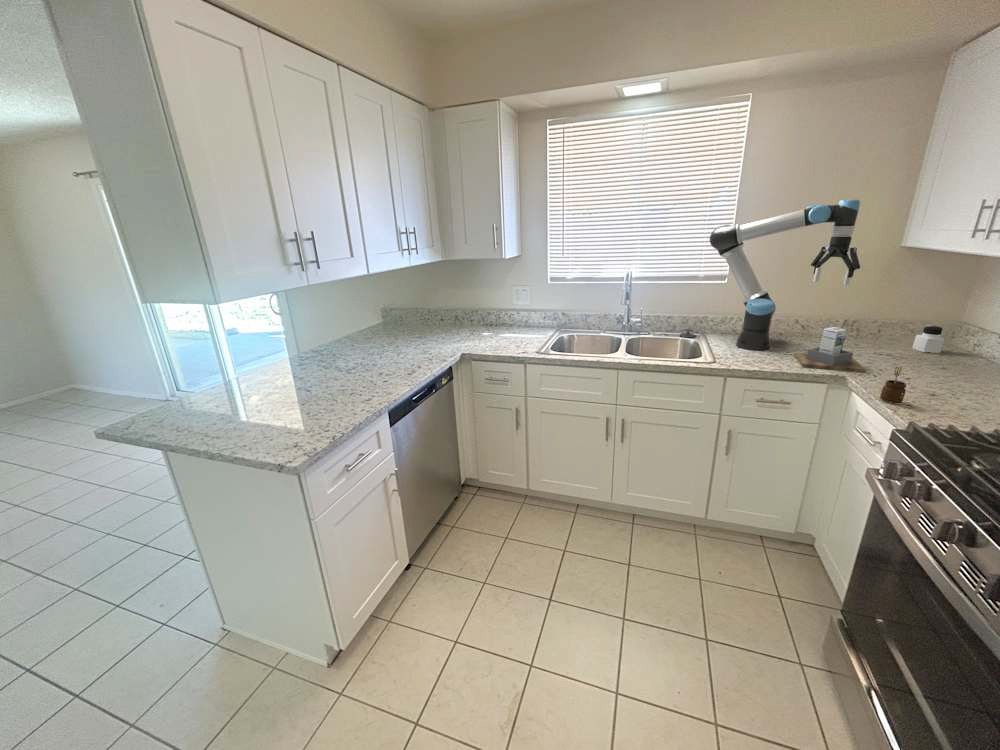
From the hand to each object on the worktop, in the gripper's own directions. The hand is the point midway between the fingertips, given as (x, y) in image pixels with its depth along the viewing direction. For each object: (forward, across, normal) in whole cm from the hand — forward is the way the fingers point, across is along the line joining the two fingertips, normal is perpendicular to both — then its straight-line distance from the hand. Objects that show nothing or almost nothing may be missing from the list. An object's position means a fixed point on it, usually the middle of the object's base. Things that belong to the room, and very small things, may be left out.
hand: (830, 283), depth 198 cm
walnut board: (+32, -19, +20) cm, 42 cm away
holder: (+30, -19, +20) cm, 41 cm away
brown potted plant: (+32, -55, +42) cm, 76 cm away
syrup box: (+30, -19, +20) cm, 41 cm away
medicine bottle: (+32, -26, -38) cm, 56 cm away
